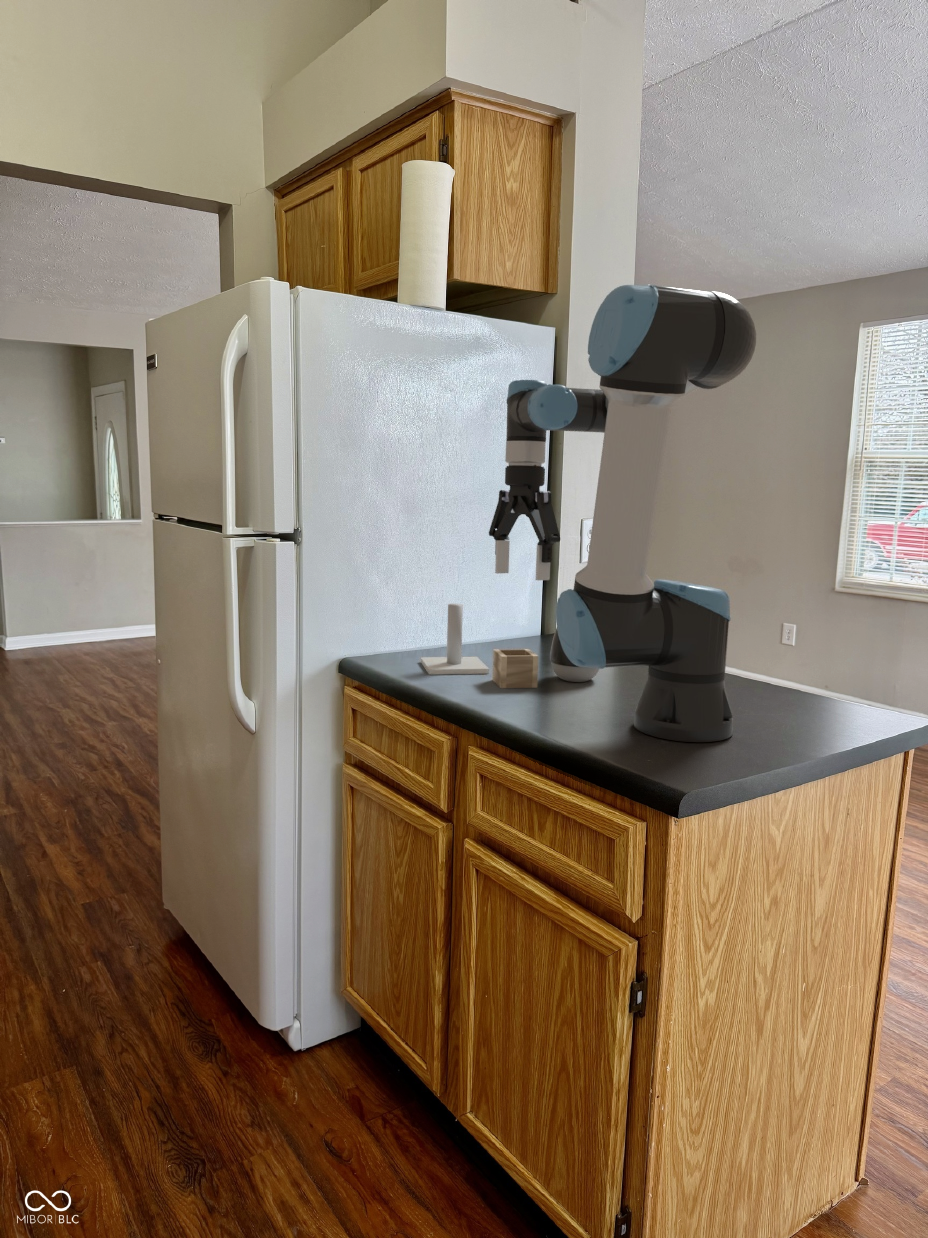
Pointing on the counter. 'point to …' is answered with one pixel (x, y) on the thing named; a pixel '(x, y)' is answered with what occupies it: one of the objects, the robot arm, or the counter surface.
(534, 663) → the collar
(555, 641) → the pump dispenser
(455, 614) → the post fixture
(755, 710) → the counter surface
